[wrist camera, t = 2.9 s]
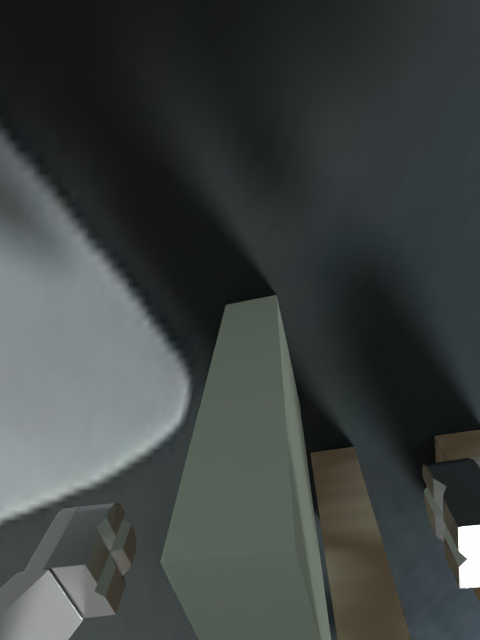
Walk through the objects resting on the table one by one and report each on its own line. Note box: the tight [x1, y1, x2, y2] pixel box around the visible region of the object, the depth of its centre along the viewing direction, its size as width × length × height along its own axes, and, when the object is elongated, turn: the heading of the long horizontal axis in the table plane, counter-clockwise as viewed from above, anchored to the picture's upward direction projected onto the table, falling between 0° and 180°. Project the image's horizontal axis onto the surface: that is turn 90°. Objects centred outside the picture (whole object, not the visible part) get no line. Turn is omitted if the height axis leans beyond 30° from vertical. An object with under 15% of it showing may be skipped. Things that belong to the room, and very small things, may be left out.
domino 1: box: [160, 295, 331, 640], centre depth 11 cm, size 2×5×10 cm, turn 14°
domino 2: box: [310, 447, 411, 640], centre depth 14 cm, size 2×5×10 cm, turn 13°
